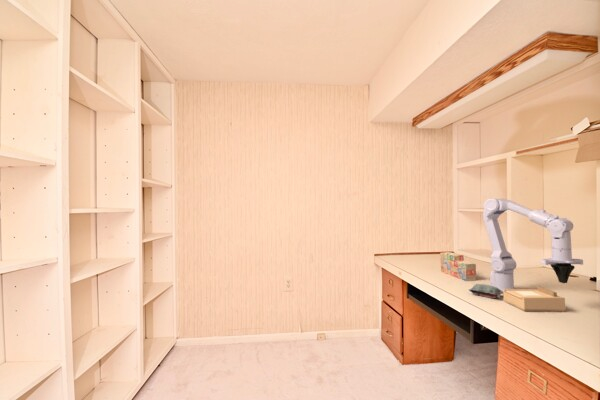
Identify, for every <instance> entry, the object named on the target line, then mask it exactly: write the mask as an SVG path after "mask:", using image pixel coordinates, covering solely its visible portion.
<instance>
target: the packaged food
mask: <svg viewBox="0 0 600 400" xmlns="http://www.w3.org/2000/svg"><path fill="white" fill-rule="evenodd" d="M468 291H469V292H471V293H472V294H473V295H476V296H479V297H480V296H481V297H484V298H491V299H496V298H501V297H500V295H504V294H503V291H502V290H499V289H498V288H497V287H494V286H491V285H490V284H485V283H475V284H474V285H473V286H472V287H471V288H469V289H468Z"/></svg>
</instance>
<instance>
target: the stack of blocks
mask: <svg viewBox="0 0 600 400" xmlns="http://www.w3.org/2000/svg"><path fill="white" fill-rule="evenodd" d="M439 254H440V271H441V273H444V274H445V275H449V276H451V277H455V278H457V279H460V280H462V281H466V282H471V281H477V271H476V270H477V263H474V262H471V261H467V260H464V255H463V254H460V253H455V252H451V251H443V252H440V253H439Z"/></svg>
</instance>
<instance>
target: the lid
mask: <svg viewBox="0 0 600 400" xmlns="http://www.w3.org/2000/svg"><path fill="white" fill-rule="evenodd" d="M536 289H537V290H506V292H507V293H510V294H512V295H514V296H517V297H519V298H521V299H522V297H561V296H560V295H558V292H556V291H553V290H551V289H548V288H545V287H541V286H536Z"/></svg>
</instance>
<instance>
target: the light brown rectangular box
mask: <svg viewBox="0 0 600 400" xmlns="http://www.w3.org/2000/svg"><path fill="white" fill-rule="evenodd" d="M506 290H537V288H514V289H503V294H502V295H503V302H504V303H506V304H508V305H510V306H512V307H514V308H515V309H518V310H519V311H522V312H525V313H526V312H527V313H528V312H529V313H531V312H532V313H534V312H535V313H542V312H543V313H545V312H547V313H550V312H552V313H553V312H554V313H555V312H557V313H559V312H560V313H562V312H563V313H565V312H566V298H565V297H564V296H560V297H522V299H521V298H519V297H517V296H514V295H512V294H510V293H507V292H506Z"/></svg>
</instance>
